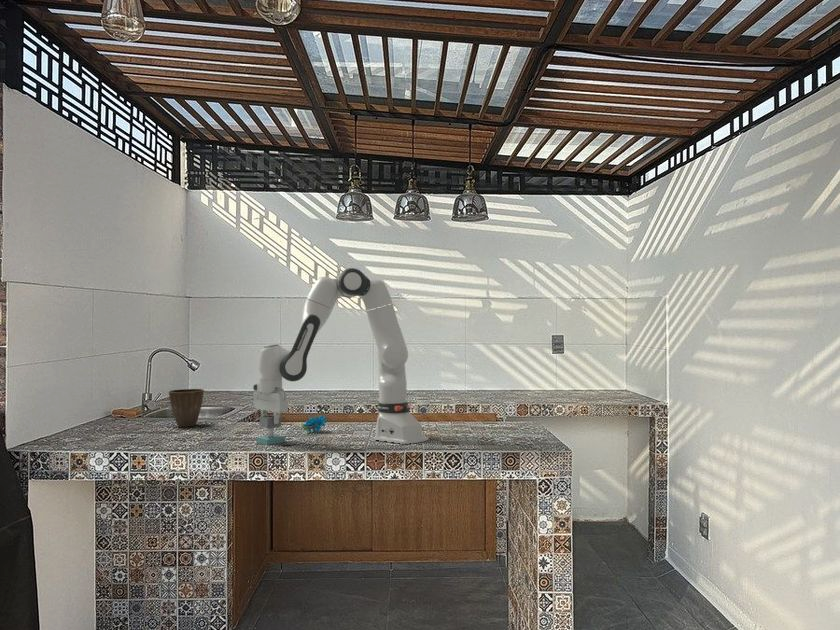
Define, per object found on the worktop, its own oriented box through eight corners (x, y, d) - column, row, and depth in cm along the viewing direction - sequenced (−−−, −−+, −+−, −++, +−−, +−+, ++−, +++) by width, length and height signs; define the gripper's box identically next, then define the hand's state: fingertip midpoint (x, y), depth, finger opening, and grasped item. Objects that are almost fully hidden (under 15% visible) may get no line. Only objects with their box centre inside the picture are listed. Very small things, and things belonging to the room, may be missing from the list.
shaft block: (285, 442, 251) (285, 424, 251) (266, 445, 246) (266, 426, 246) (274, 439, 257) (274, 421, 257) (256, 442, 252) (256, 424, 252)
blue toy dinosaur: (324, 425, 280) (327, 411, 273) (328, 436, 277) (331, 422, 270) (299, 431, 275) (301, 417, 269) (303, 442, 272) (306, 428, 265)
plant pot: (161, 428, 287) (161, 391, 287) (181, 422, 301) (181, 388, 301) (191, 429, 283) (191, 392, 283) (210, 423, 298) (210, 389, 298)
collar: (281, 426, 251) (281, 416, 251) (267, 428, 247) (267, 417, 247) (273, 424, 256) (273, 414, 256) (259, 426, 252) (259, 416, 252)
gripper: (292, 388, 246) (292, 424, 246) (264, 384, 261) (264, 418, 261) (277, 389, 242) (277, 426, 242) (250, 385, 257) (250, 420, 257)
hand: (270, 422), depth 252 cm, fingers closed on collar, 6 cm apart
